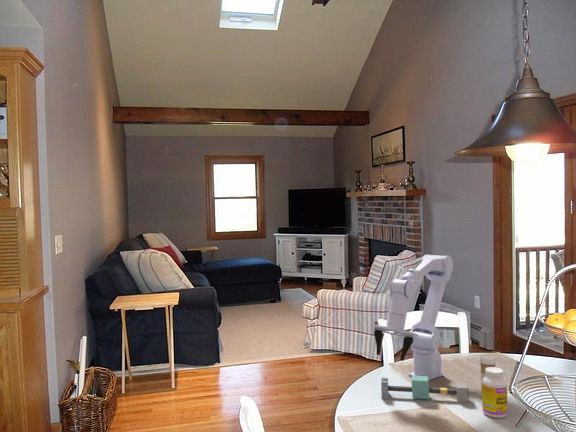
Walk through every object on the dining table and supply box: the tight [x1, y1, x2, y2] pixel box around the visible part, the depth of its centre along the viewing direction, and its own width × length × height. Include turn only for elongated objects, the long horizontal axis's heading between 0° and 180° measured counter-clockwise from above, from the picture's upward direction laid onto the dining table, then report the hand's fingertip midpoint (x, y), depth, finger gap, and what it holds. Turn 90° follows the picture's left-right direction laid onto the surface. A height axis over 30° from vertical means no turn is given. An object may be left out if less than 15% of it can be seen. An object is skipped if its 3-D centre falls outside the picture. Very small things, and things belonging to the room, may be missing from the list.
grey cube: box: [455, 382, 470, 404], centre depth 146 cm, size 4×4×4 cm
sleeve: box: [411, 376, 430, 400], centre depth 149 cm, size 5×4×6 cm
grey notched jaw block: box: [380, 377, 390, 400], centre depth 151 cm, size 2×5×5 cm, turn 167°
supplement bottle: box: [481, 366, 509, 419], centre depth 136 cm, size 7×7×13 cm
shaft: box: [388, 385, 457, 395], centre depth 149 cm, size 23×1×1 cm, turn 77°
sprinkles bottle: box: [479, 353, 497, 399], centre depth 146 cm, size 5×5×13 cm
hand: (389, 357), depth 151 cm, fingers open, 7 cm apart
